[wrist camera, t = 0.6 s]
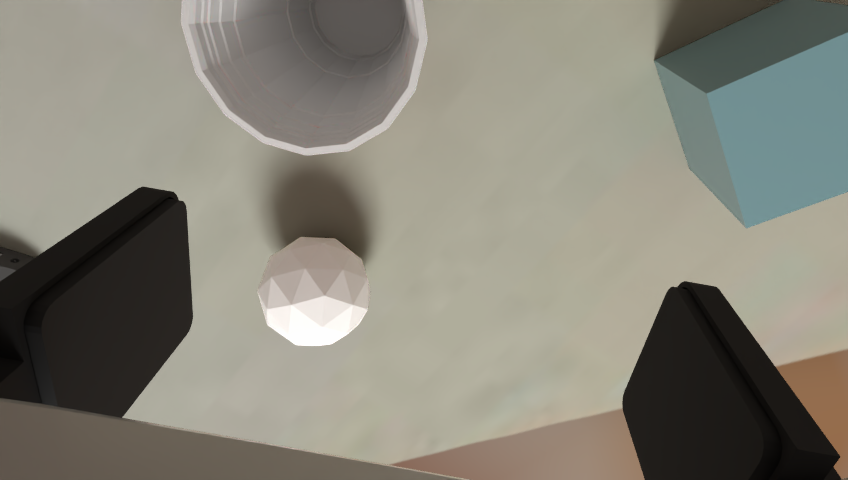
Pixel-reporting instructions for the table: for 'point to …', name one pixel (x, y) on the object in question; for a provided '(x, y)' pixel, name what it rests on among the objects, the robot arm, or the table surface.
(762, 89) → the matte blue-grey box
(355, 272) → the geometric ball
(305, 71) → the plastic cup
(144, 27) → the table surface
